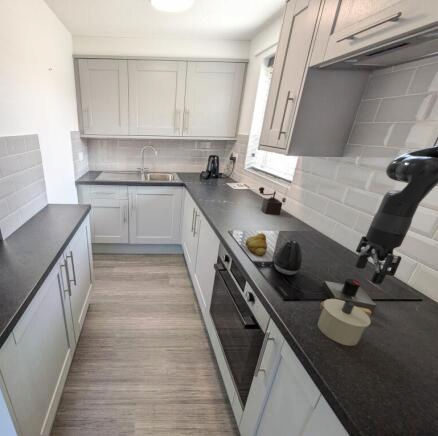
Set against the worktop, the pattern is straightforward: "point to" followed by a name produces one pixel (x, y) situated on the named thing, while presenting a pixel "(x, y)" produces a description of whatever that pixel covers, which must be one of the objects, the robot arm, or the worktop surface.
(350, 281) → the knob
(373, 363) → the worktop surface
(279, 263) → the dark grey egg shape
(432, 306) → the worktop surface
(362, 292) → the grey flat piece
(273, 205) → the manual coffee grinder
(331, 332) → the pot
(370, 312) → the spoon
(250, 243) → the bread roll
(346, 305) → the pot lid
